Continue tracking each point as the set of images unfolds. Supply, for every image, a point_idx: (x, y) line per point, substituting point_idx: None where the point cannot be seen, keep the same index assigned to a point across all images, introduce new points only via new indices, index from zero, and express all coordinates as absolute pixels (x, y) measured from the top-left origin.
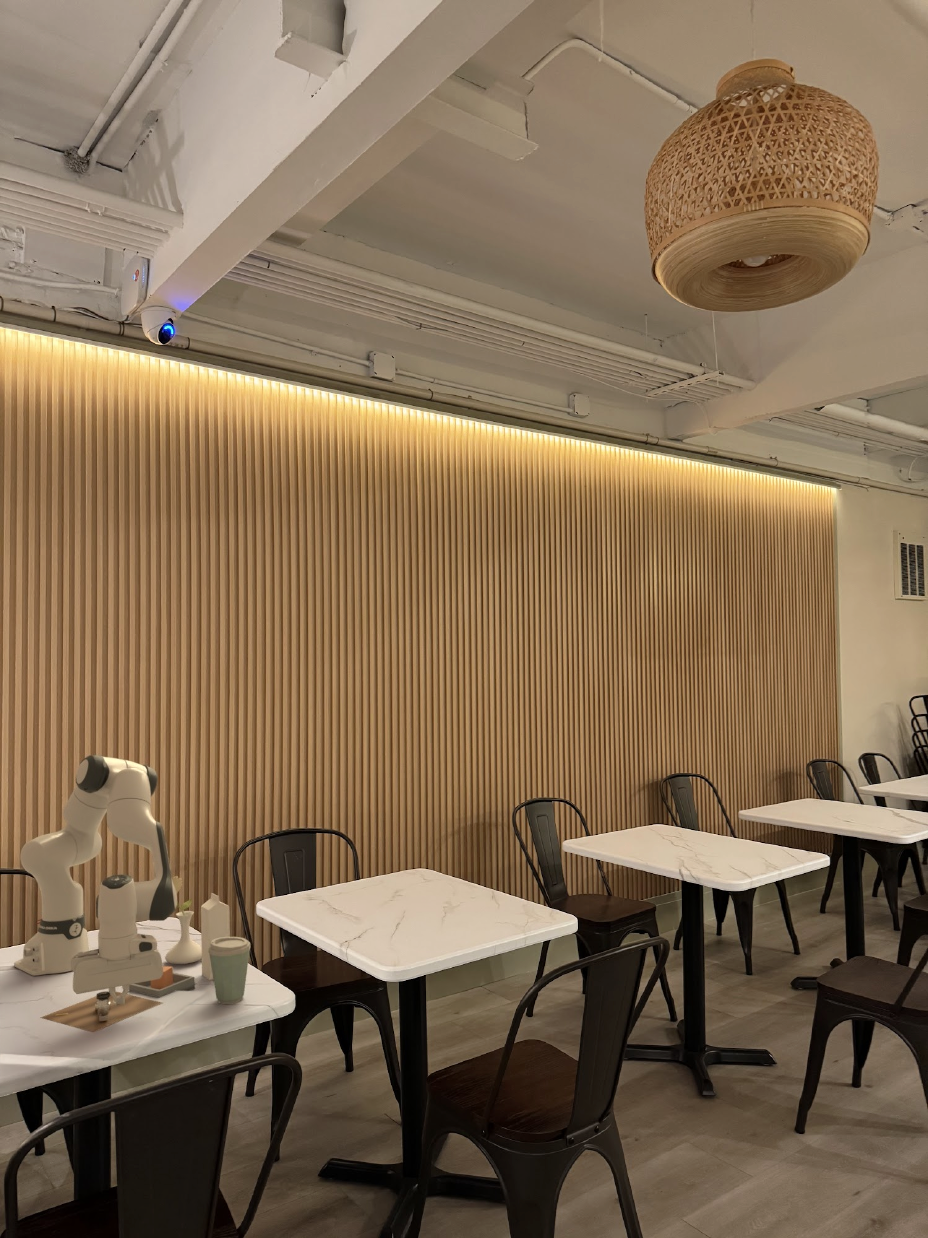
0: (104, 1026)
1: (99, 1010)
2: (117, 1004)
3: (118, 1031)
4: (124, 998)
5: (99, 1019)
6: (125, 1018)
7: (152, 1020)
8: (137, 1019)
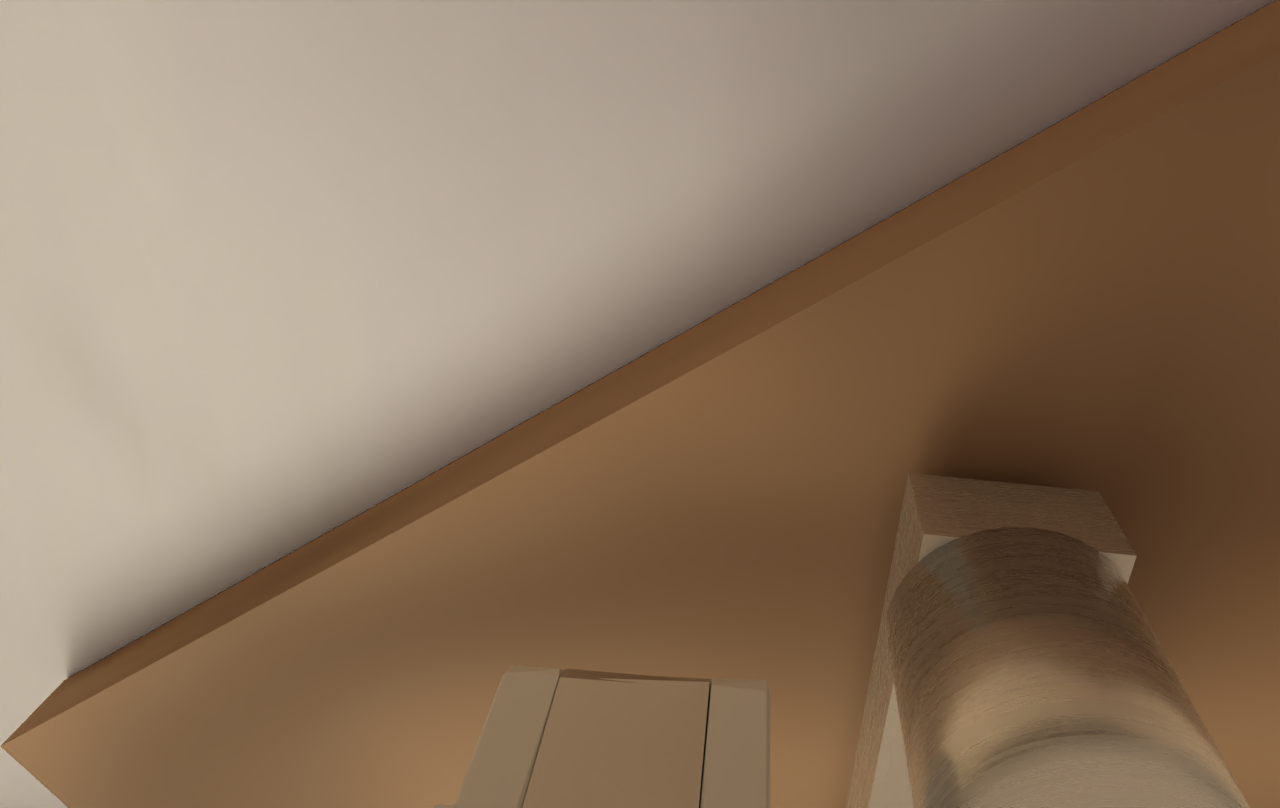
0: (1035, 229)
1: (1169, 664)
2: (688, 683)
3: (737, 152)
4: (468, 769)
5: (1103, 517)
6: (566, 440)
7: (161, 351)
8: None
